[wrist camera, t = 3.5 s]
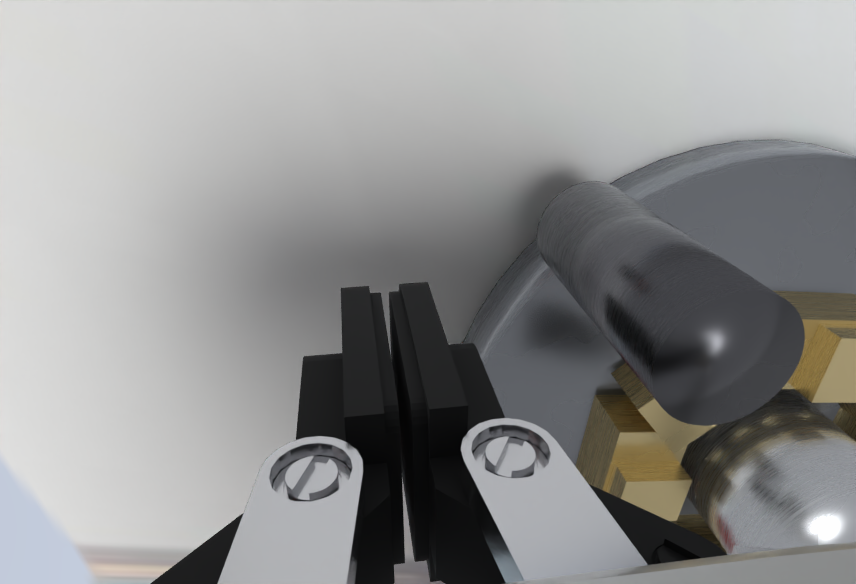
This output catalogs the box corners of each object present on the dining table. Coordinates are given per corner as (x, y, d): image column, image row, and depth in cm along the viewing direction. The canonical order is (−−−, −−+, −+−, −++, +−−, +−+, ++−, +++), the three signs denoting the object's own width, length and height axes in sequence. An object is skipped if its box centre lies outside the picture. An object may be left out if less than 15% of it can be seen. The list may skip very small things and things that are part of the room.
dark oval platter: (921, 480, 24) (1112, 636, 18) (521, 623, 24) (580, 822, 18) (962, 46, 16) (1328, 72, 10) (366, 270, 16) (384, 420, 10)
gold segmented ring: (933, 438, 19) (1151, 597, 14) (671, 598, 21) (780, 791, 16) (749, 43, 13) (1029, 72, 7) (392, 326, 14) (424, 503, 9)
